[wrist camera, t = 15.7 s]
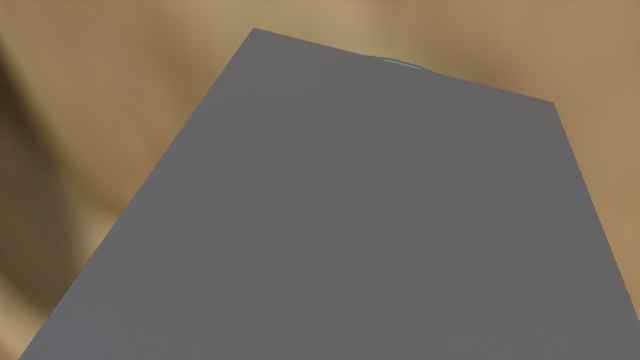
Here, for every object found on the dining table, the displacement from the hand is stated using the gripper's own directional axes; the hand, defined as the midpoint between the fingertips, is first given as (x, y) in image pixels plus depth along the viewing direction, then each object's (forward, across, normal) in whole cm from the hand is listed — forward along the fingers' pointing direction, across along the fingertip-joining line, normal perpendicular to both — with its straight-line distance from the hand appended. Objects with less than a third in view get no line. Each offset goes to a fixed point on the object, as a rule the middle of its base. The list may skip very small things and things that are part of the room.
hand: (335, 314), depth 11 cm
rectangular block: (+3, 0, -1) cm, 3 cm away
